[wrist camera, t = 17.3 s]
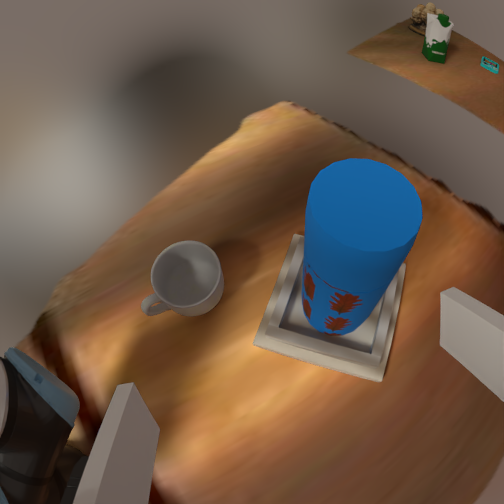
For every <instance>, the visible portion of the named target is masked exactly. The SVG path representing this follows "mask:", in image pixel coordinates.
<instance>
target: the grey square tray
mask: <svg viewBox="0 0 504 504" xmlns="http://www.w3.org/2000/svg"><path fill="white" fill-rule="evenodd" d="M304 237H305V236H302V235H298V234H294V235H293V238H292V241H291V244H290V246H289V249H288V252H287V255H286V257H285V260H284V263H283V265H282V268H281V271H280V273H279V276H278V279H277V282H276V284H275V287H274V289H273V292H272V295H271V297H270V300H269V303H268V305H267V308H266V311H265V313H264V316H263V318H262V321H261V323H260V326H259V329H258V331H257V334H256V336H255V339H254V341H253V345H254V346H257V347H260V348H263V349H266V350H269V351H272V352H275V353H278V354H281V355H284V356H287V357H291V358H294V359H297V360H300V361H304V362H307V363H310V364H314V365H317V366H320V367H324V368H327V369H331V370H334V371H338V372H342V373H345V374H349V375H353V376H356V377H360V378H364V379H368V380H372V381H376V382H381V381H382V378H383V375H384V371H385V367H386V363H387V359H388V355H389V351H390V347H391V342H392V338H393V333H394V329H395V324H396V319H397V314H398V309H399V304H400V298H401V293H402V287H403V281H404V274H405V268H406V264H405V263H402V265H401V267H400V268H399V270H398V272H397V273H396V275H395V276H394V278H393V280H392V281H391V283H390V285H389V286H388V288H387V289H386V291H385V293H384V294H383V296H382V297H381V299H380V300H379V302H378V303H377V305H376V306H375V308H374V309H373V311H372V312H371V314H370V315H369V317H368V318H367V319H366V320H365V321H364V322H363V323H362V324H361V325H360V326H359V327H358V328H357V329H356V330H355V331H353V332H351V333H348V334H345V335H343V336H330V335H327V334H324V333H321V332H319V331H318V330H316V329H315V328H314V327H313V326H311V325H310V323H309V322H308V320H307V318H306V317H305V315H304V311H303V305H302V295H301V292H302V276H303V258H304Z"/></svg>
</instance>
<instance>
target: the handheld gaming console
mask: <svg viewBox="0 0 504 504" xmlns="http://www.w3.org/2000/svg"><path fill="white" fill-rule="evenodd" d="M485 59H487V60H489V61H491V62H492V63H494V64H496V67H495V66H493V65H491V64H492V63H491V64H489V63H488V62H485ZM481 66H482V67H484V68H486V69H488V70H490V71H491V72H493V73H496V74H498V69H499V64H497V63H496V62H494V61H492V60H490V59H488V58H486V57H484V56H483V57H482V61H481Z"/></svg>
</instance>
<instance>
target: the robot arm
mask: <svg viewBox="0 0 504 504" xmlns="http://www.w3.org/2000/svg"><path fill="white" fill-rule="evenodd" d="M440 346H441V347H443V348H444V349H445V350H446V351H447V352H448V353H450V354H451V355H452V356H453V357H454V358H455V359H456V360H458V361H459V362H460V363H461V364H462V365H463V366H464V367H466V368H467V369H468V370H469V371H470V372H471V373H472V374H473V375H475V376H476V377H477V378H478V379H479V380H480V381H481V382H482V383H484V384H485V385H486V386H487V387H488V388H489V389H490V390H491V391H492V392H493V393H494V394H496V395H497V396H498V397H499V398H500V399H501V400H502V401H503V402H504V316H503V315H502V314H500V313H498V312H497V311H495V310H493V309H492V308H490V307H488V306H486V305H485V304H483V303H481V302H480V301H478V300H476V299H474V298H473V297H471V296H469V295H467V294H466V293H464V292H462V291H460V290H458V289H457V288H455V287H452V288H449V289H447V290H445V291H443V292H441V325H440ZM78 410H79V400H78V397H77V396H76V394H75V393H74V392H73V391H72V390H71V389H70V388H69V387H68V386H67V385H66V384H64V383H63V382H62V381H61V380H60V379H58V378H57V377H56V376H54V375H53V374H52V373H51V372H49V371H48V370H47V369H45V368H44V367H43V366H41V365H40V364H39V363H37V362H36V361H35V360H33V359H32V358H30V357H29V356H28V355H26V354H25V353H23V352H22V351H20V350H18V349H16V348H13V347H11V348H9V349H8V350H7V351H6V352H5V355H4V358H2V357H0V504H148V500H149V493H150V486H151V480H152V474H153V468H154V462H155V456H156V450H157V445H158V439H159V433H160V428H159V426H158V425H157V423H156V421H155V420H154V418H153V416H152V414H151V413H150V411H149V409H148V408H147V406H146V404H145V402H144V400H143V399H142V397H141V395H140V393H139V391H138V389H137V388H136V386H135V384H134V382H132V383H126V384H120V385H117V387H116V390H115V392H114V395H113V397H112V399H111V402H110V404H109V407H108V409H107V412H106V414H105V417H104V419H103V422H102V424H101V427H100V429H99V432H98V435H97V437H96V440H95V442H94V445H93V448H92V450H91V453H90V456H85V455H84V454H83V453H82V452H81V451H79V450H78V449H76V448H74V447H72V446H69V445H66V442H67V440H68V438H69V435H70V433H71V431H72V429H73V427H74V422H75V419H76V416H77V413H78Z"/></svg>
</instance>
